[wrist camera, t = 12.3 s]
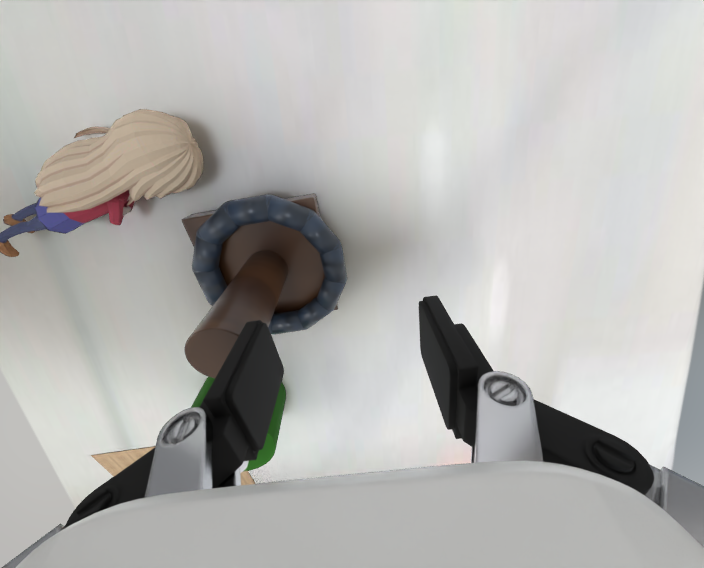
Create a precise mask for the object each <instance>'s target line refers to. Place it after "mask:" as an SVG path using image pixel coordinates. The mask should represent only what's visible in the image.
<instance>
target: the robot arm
mask: <svg viewBox="0 0 704 568" xmlns="http://www.w3.org/2000/svg"><path fill="white" fill-rule="evenodd" d="M419 322H420V347H421V355H422V358H423V361H424V364H425V367H426V370H427V373H428V376H429V378H430V381H431V384H432V387H433V390H434V393H435V396H436V399H437V402H438V405H439V407H440V410H441V413H442V416H443V419H444V422H445V425H446V427H447V429H448V430H449V429H452V430H453V432H454V435H455V438H456V439H460V438H462V439H463V441H464V442H465V443H467V444H469V445H470V446H472V451H471V463H468V464H455V465H442V466H432V467H421V468H410V469H400V470H389V471H379V472H368V473H358V474H348V475H338V476H328V477H318V478H308V479H298V480H288V481H278V482H269V483H259V484H250V485H241V475H240V466H241V465H242V464H243V461H252V460H256V459H257V455H258V452H259V450H262V449H263V447H264V444H265V440H266V436H267V433H268V429H269V425H270V422H271V418H272V414H273V411H274V407H275V404H276V400H277V396H278V393H279V389H280V385H281V382H282V378H283V374H284V369H283V365H282V362H281V360H280V357H279V354H278V352H277V349H276V347H275V344H274V341H273V339H272V336H271V334H270V331H269V328H268V326H267V324H266V323H263V322H262V321H261V320H257V321H249V322H247V323H246V324H245V326H244V328H243V329H242V331H241V333H240V335H239V337H238V338H237V340H236V342H235V344H234V346H233V347H232V349H231V351H230V353H229V354H228V356H227V358H226V360H225V362H224V363H223V365H222V367H221V369H220V371H219V372H218V374H217V376H216V378H215V380H214V381H213V383H212V385H211V387H210V388H209V390H208V392H207V394H206V396H205V397H204V399H203V401H202V403H201V405H200V407H192V408H188V409H185V410H183V411H181V412H179V413H178V414H176V415H175V416H174V417H172V418H171V419H170V420H169V421H168V422H167V423H166V424H165V425H164V426H163V428H162V429H161V431H160V433H159V435H158V438H157V443H156V447H155V448H153V449H152V450H151V451H149V452H148V453H146V454H145V455H144V456H142V457H141V458H139V459H138V460H136V461H135V462H134V463H132V464H131V465H129V466H128V467H127V468H125V469H124V470H122V471H121V472H120V473H118V474H117V475H115V476H114V477H113V478H111V479H110V480H108V481H107V482H105V483H104V484H103V485H101V486H100V487H98V488H97V489H96V490H94V491H93V492H92V493H91V494H89V495H88V496H87V497H86V498H85V499H84V500H83V501H82V502H81V503H80V504H79V505H78V506H77V508H76V509H75V510H74V512H73V513H72V514H71V516H70V517H69V520H68V521H67V524H66V525H65V526H63V525H61V524H59V525H58V526H57V527H55V528H54V529H53V530H51V531H50V532H49V533H47V534H46V535H45V536H43V537H42V538H41V539H39V540H38V541H37V542H35V543H34V544H33V545H31V546H30V547H28V548H27V549H26V550H24V551H23V552H22V553H20V554H19V555H18V556H16V557H15V558H14V559H12V560H11V561H10V562H9V563H7V564H6V565H4V566H3V567H2V568H704V486H702V485H701V484H698V483H696V482H694V481H692V480H690V479H688V478H686V477H684V476H682V475H680V474H678V473H676V472H674V471H672V470H670V469H668V468H666V467H662V469H661V470H659V469H657V468H655V467H653V466H651V465H649V464H648V462H647V460H646V459H645V458H644V457H643V456H642V455H641V454H640V453H639V452H638V451H637V450H636V449H635V448H633V447H632V446H631V445H629V444H628V443H627V442H625V441H623V440H621V439H620V438H618V437H616V436H614V435H612V434H609V433H607V432H605V431H603V430H600V429H598V428H596V427H594V426H592V425H589V424H587V423H585V422H583V421H581V420H578V419H576V418H574V417H572V416H569V415H567V414H565V413H563V412H561V411H558V410H556V409H554V408H552V407H549V406H547V405H545V404H543V403H541V402H538V401H536V400H534V399H533V395H532V392H531V390H530V388H529V387H528V385H527V384H526V383H525V382H524V381H522V380H521V379H520V378H518V377H516V376H514V375H512V374H509V373H506V372H500V371H493V369H492V368H491V366H490V365H489V363H488V361H487V360H486V358H485V357H484V355H483V354H482V352H481V350H480V349H479V347H478V346H477V344H476V343H475V341H474V339H473V338H472V336H471V335H470V333H469V332H468V330H467V328H466V327H465V326H464V324H454V323H453V322H452V320H451V318H450V317H449V315H448V313H447V311H446V310H445V308H444V306H443V305H442V303H441V301H440V299H439V298H438V296H430V297H424V298H423V301H419Z"/></svg>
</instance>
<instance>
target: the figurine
mask: <svg viewBox="0 0 704 568" xmlns="http://www.w3.org/2000/svg"><path fill="white" fill-rule="evenodd" d="M99 132H102V133H107V134H106V135H104V136H102V137H98V138H90V139H87V140H79V141H76V142H73V143H71V144H68V145H66V146H64V147H63V148H62V149H60V150H59V151H58V152H56V153H55V154H54V155H53V156H51V157H50V158H49V159H47V160H46V161H45V162H44V164H43V166H42V169H41V171H40V173H39V174H38V176H37V178H36V180H35V182H36V186H37V187H38V188H37V190H36V191H35V192H34V193H35V195H36V196H38V197H40V198H39V200H38V202H37V203H35V204H32V205H30V206H27V207H25V208H23V209H22V210H20V211H18V212H17V213H15V214H10V215H6V216H4V219H3V221H4V224H7V225H10V226H11V227H9V228H7V229H6V230H4V231H3V232H1V233H0V252H1V253H2V254H4V255H6V256H9V257H16V256H18V255H19V252H18V251H17V250H16V249H14V248H13V247H12V246H11V244H10V243H9V241H8V239H9V238H11V237H13V236H15V235H18V234H21V233H25V232H28V233H34V232H35V231H39V230H45V229H47V230H49V231H54V232H59V233H64V234H66V233H68V232H70V231H72V230H75V229H76V228H78V227H79V226H81V225H83V224H84V223H86V222H89V221H91V220H94V219H96V218H98V217H101V216H103V215H105V214H107V213H109V219H110V223H112V224H115V225H120V224H121V222H122V219H123V216H124V215H125V214H127V213H128V212H130V211H131V210H132V207H133V205H134V202H135V201H137V200H139V199H140V198H141V197H142V196H144V197H145V198H146V199H147V200H149V199H151V198H153V197H155V196H156V197H158V198H160V199H161V198H163V197H164V196H166V195H169V194H170V193H178V192H181V191H183V190H185V189H187V190H188V189H190V188H191V187H193V186H194V185H195V183H196V182H197V180H198V179H199V178H200V177H201V175H202V172H203V155H202V152H201V149H200V148H199V147H198V143H197V142H195V139H194V138H193V137H192V133H191V132H190V129H189V126H188V125H187V123H186V122H185V121H184V120H182V119H180V118H178V117H174V116H170V115H168V114H166V113H163V112H159V111H152V110H147V109H139V110H137V111H134V112H132V113H129V114H126V115H124V116H123V117H122V118H120V119H117V120H116V121H115V122H114V124H113V125H112V127H111V128H105V127H91V128H87V129H85V130H82V131H80V132H78V133H77V134H76V136H75V137H74V138H76V137H79V136H82V135H87V134H92V133H99ZM33 214H36V217H34V218H33V219H32V220H30V221H26V220H25V219H24V218H26V217H28V216H31V215H33Z"/></svg>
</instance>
